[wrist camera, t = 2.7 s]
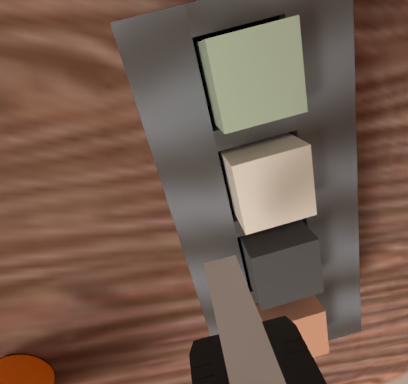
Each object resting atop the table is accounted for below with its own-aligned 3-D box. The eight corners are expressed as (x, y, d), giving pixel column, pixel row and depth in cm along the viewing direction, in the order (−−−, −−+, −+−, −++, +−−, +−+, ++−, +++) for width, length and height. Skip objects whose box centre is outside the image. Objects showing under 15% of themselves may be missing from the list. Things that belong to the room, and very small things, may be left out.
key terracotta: (250, 293, 28) (265, 329, 24) (303, 278, 28) (325, 311, 24) (259, 332, 30) (274, 369, 26) (308, 317, 30) (329, 352, 26)
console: (121, 32, 23) (109, 22, 17) (301, -14, 23) (352, -39, 17) (210, 320, 35) (222, 372, 29) (326, 285, 36) (360, 330, 30)
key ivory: (218, 149, 22) (231, 166, 18) (284, 130, 22) (310, 144, 18) (232, 208, 24) (245, 235, 20) (292, 191, 24) (317, 214, 21)
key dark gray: (236, 229, 25) (250, 258, 21) (295, 213, 25) (319, 239, 21) (247, 277, 27) (261, 310, 23) (301, 261, 27) (323, 292, 23)
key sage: (195, 43, 19) (204, 39, 15) (271, 23, 19) (299, 14, 16) (212, 121, 21) (224, 134, 17) (281, 102, 21) (307, 111, 18)
